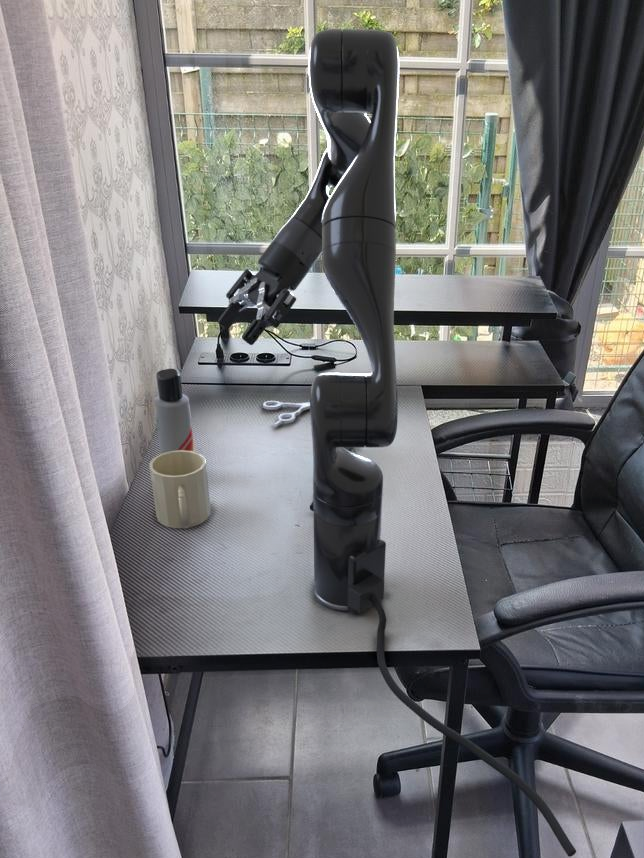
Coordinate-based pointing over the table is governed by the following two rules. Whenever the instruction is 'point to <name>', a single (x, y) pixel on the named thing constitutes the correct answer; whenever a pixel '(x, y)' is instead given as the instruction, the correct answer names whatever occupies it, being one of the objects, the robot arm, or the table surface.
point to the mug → (180, 488)
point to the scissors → (279, 404)
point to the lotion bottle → (172, 413)
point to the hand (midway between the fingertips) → (233, 333)
